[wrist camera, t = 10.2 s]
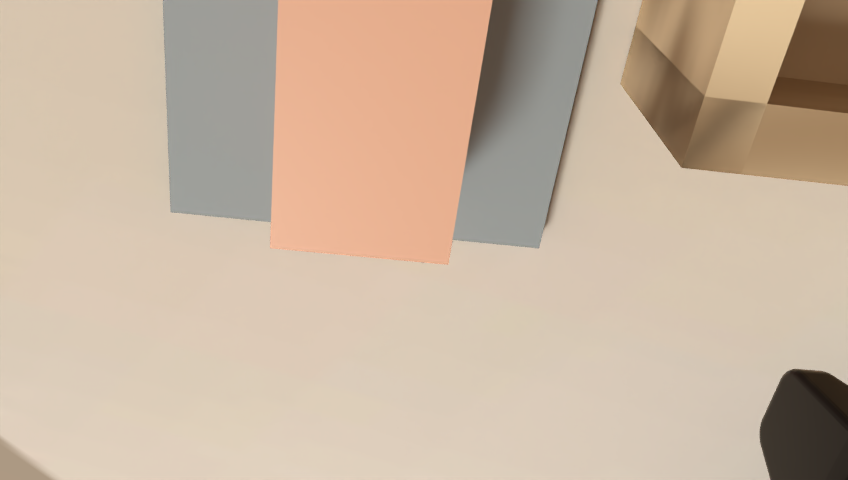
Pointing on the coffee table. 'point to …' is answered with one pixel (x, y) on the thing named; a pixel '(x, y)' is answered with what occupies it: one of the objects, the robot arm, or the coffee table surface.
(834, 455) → the robot arm
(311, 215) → the salmon orange block
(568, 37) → the mat
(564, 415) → the coffee table surface
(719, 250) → the coffee table surface
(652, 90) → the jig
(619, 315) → the coffee table surface
